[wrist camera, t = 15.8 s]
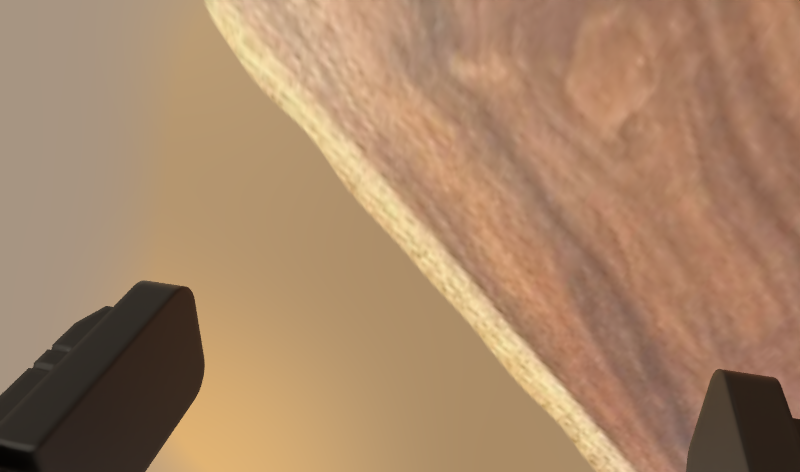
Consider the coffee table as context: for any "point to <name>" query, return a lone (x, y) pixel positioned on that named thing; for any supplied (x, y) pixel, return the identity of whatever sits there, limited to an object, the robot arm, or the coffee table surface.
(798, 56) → the coffee table surface
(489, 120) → the coffee table surface
